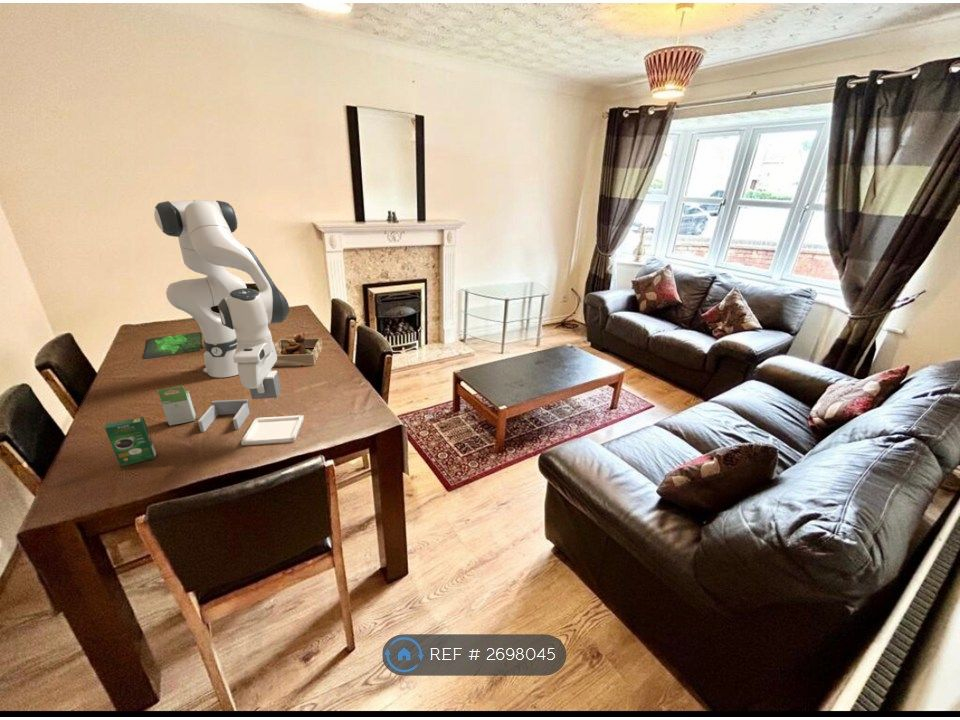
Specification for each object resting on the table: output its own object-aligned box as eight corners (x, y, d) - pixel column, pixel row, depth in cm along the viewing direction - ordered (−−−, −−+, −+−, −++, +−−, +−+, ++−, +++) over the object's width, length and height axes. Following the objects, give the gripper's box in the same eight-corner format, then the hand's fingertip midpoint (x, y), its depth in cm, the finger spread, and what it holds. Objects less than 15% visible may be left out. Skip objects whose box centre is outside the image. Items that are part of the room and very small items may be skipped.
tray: (256, 421, 129) (255, 417, 128) (304, 418, 131) (303, 415, 131) (242, 445, 117) (241, 441, 116) (294, 441, 120) (293, 437, 119)
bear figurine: (290, 351, 182) (285, 327, 177) (319, 354, 180) (315, 330, 175) (271, 362, 170) (265, 337, 165) (301, 366, 168) (297, 340, 163)
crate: (280, 348, 184) (279, 339, 182) (322, 347, 187) (321, 337, 185) (267, 366, 166) (265, 356, 164) (314, 365, 169) (312, 354, 167)
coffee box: (158, 453, 112) (143, 415, 107) (156, 458, 110) (141, 420, 105) (122, 461, 109) (105, 422, 103) (120, 467, 106) (102, 428, 101)
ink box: (196, 415, 131) (185, 380, 125) (194, 421, 127) (183, 386, 122) (171, 420, 128) (159, 384, 122) (169, 426, 124) (156, 390, 119)
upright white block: (257, 391, 120) (252, 371, 117) (281, 390, 121) (277, 370, 118) (252, 399, 116) (247, 378, 113) (277, 397, 117) (272, 377, 114)
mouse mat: (203, 351, 178) (202, 349, 178) (142, 360, 167) (141, 358, 166) (201, 333, 199) (201, 331, 198) (147, 340, 187) (146, 338, 187)
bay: (216, 413, 132) (212, 400, 130) (250, 411, 134) (247, 398, 132) (201, 431, 122) (196, 418, 120) (238, 429, 124) (235, 416, 122)
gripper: (256, 333, 120) (264, 372, 126) (230, 360, 102) (241, 405, 108) (278, 332, 122) (285, 371, 127) (256, 359, 103) (266, 403, 109)
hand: (265, 387), depth 117 cm, fingers closed on upright white block, 4 cm apart
